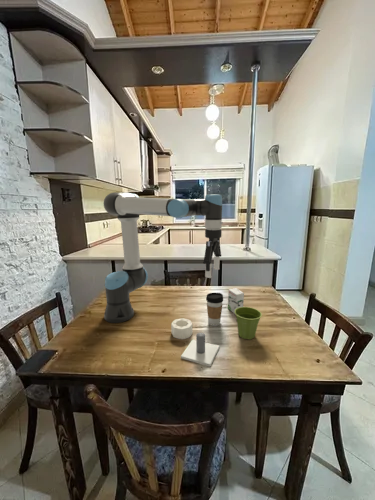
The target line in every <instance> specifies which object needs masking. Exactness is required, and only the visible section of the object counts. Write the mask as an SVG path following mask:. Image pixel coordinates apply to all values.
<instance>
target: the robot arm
mask: <svg viewBox="0 0 375 500" xmlns="http://www.w3.org/2000/svg"><path fill="white" fill-rule="evenodd" d="M103 208H104V210H105V211H106V212H107V213H108V214H109V215H111V216H115V217H117V220H118V221H119V223H120V228H121V229H120V230H121V239H122V248H123V260H124V264H123V266H122V270H117V271H114V272H111V273H109V274H107V276H106V277H105V279H104V288H105V300H106V307H105V309H104V315H103V318H104V320H105V321H106V322H107V323H111V324H118V323H124V322H127V321H129V320H131V319H132V318H133V317H134V315H135V311H134V308H133V306H132V303H131V301H130V293H133V292H134V291H136V290H138V289H140V288H141V287H143V286H145V284H146V283H148V280H149V275H148V271H147V270H146V268H145V267H144V265H143V263H141V258H140V257H141V256H140V244H139V232H138V231H139V230H138V220H139V219H140V215H147V216H159V217H160V216H161V217H172V218H176V219H181V218H185V217H193V216H195V217H197V216H204V218H205V219H204V228H205V232H204V237H205V238H207V239H208V241H206V242H205V251H204V257H203V264H205V267H204V270H205V271H204V272H205V273H204V277H205V278H207V279H208V278H209V279H212V276H213V275H212V270H215V271H216V270H217V271H219V270H220V261H221V260H220V259H221V258H220V257H222V251H221V242H220V240H221V239H220V238H222V236H223V235H222V231H223V230H222V225H223V224H224V222H223V221H222V220H223V217H222V216H223V196H222V194H216V193H215V194H206V195H205V198H197V199H196V198H194V199H193V198H192V199H191V198H187V199H186V198H164V197H163V198H162V197H161V198H160V197H140V196H139V195H138V194H136V193H134V192H133V193H132V192H119V191H118V192H117V191H116V192H110V193H108V194H107V195H106V196H105V198H104V199H103ZM213 254H214V255H213ZM212 259H213V264H212ZM212 265H213V269H212Z"/></svg>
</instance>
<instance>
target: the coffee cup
mask: <svg viewBox="0 0 375 500" xmlns="http://www.w3.org/2000/svg"><path fill="white" fill-rule="evenodd" d="M205 297H206V310H207V319H208V320H207V323H208V324H209V325H210V326H213V327H214V326H219V325H221V318H222V312H223V302H224V295H223V294H222V293H220V292H210V293H207V294H206V296H205Z"/></svg>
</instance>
